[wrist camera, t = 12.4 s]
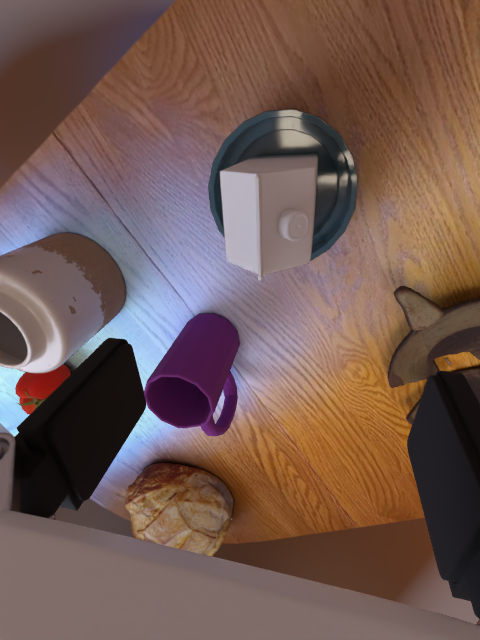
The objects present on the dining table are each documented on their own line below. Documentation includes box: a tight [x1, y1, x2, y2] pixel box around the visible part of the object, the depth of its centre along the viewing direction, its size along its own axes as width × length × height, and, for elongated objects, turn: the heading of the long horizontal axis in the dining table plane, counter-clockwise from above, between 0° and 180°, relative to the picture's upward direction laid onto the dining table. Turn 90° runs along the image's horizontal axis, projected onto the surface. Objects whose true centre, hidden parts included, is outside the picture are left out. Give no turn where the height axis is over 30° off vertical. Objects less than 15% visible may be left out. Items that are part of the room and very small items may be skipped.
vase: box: [0, 233, 126, 373], centre depth 45 cm, size 15×15×17 cm
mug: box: [144, 314, 240, 436], centre depth 47 cm, size 9×16×15 cm, turn 24°
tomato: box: [15, 364, 71, 414], centre depth 61 cm, size 11×11×9 cm
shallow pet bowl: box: [208, 109, 358, 261], centre depth 36 cm, size 15×15×6 cm
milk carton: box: [220, 153, 318, 281], centre depth 30 cm, size 7×7×19 cm
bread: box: [125, 463, 235, 557], centre depth 72 cm, size 25×27×15 cm
